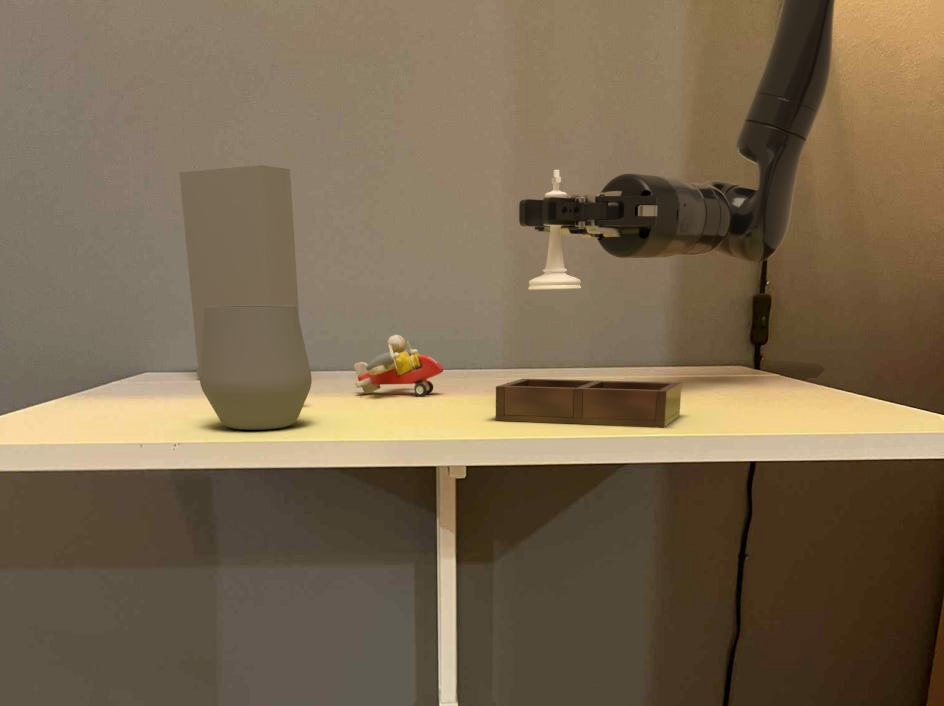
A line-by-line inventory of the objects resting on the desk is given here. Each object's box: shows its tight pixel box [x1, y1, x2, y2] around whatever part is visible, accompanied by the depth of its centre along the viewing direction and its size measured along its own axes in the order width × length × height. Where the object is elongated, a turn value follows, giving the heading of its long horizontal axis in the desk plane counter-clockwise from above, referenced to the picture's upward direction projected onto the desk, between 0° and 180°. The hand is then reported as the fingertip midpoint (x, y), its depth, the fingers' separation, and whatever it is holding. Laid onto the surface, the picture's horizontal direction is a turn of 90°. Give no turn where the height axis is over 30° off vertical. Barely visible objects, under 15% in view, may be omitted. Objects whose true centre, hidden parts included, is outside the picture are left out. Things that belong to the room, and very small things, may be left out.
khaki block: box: [179, 164, 300, 378], centre depth 126 cm, size 14×6×25 cm, turn 59°
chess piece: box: [527, 169, 582, 291], centre depth 89 cm, size 5×5×10 cm
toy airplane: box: [353, 334, 444, 397], centre depth 110 cm, size 9×9×6 cm
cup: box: [199, 305, 313, 431], centre depth 84 cm, size 10×9×10 cm
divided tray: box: [495, 378, 682, 428], centre depth 89 cm, size 15×8×3 cm, turn 69°
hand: (534, 211), depth 87 cm, fingers closed on chess piece
